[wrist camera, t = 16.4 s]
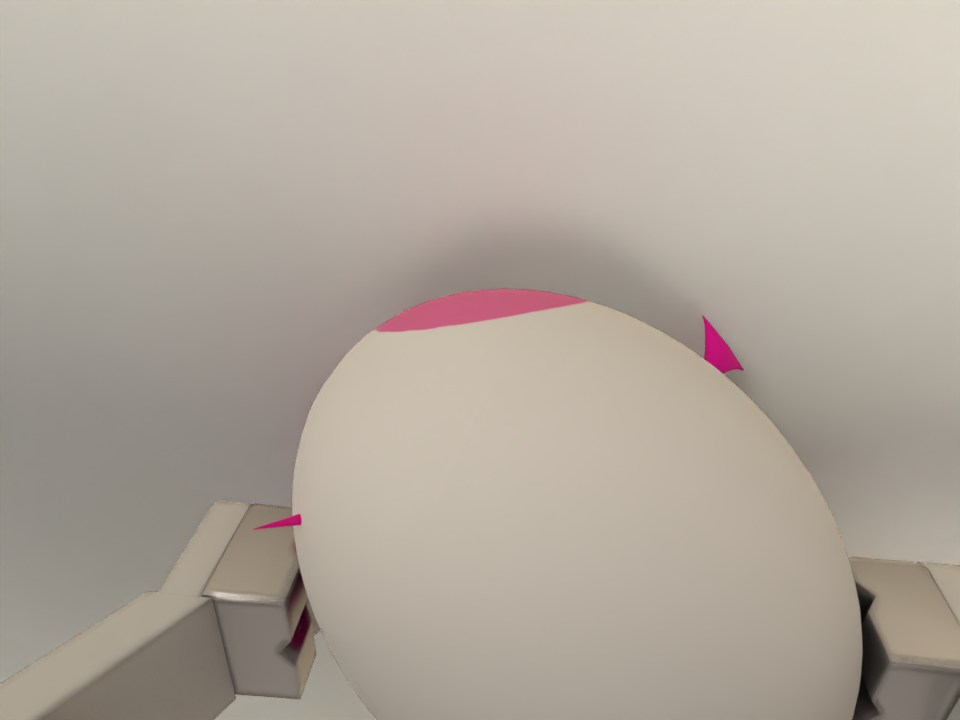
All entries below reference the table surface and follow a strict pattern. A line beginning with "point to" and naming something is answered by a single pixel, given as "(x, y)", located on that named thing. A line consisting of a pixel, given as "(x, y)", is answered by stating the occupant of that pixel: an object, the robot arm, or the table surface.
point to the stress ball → (565, 525)
